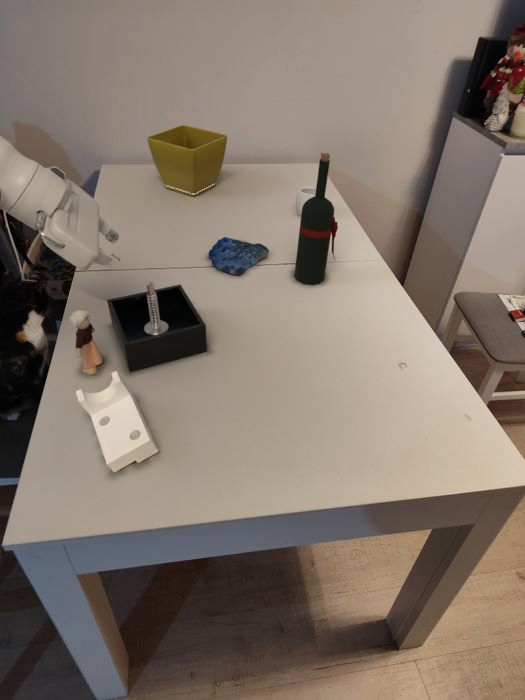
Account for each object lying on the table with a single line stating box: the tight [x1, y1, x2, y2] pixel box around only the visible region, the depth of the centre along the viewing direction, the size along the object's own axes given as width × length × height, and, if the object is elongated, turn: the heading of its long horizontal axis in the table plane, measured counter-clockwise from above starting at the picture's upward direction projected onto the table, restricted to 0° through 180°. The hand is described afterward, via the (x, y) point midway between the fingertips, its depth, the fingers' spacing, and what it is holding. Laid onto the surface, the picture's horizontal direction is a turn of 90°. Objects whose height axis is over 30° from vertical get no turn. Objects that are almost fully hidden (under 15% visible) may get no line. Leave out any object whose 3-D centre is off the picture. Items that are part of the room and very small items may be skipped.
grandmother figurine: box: [69, 309, 104, 376], centre depth 81 cm, size 8×4×13 cm, turn 8°
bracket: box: [75, 370, 159, 473], centre depth 71 cm, size 13×7×8 cm, turn 29°
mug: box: [295, 185, 316, 217], centre depth 141 cm, size 12×8×8 cm
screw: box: [144, 281, 168, 336], centre depth 88 cm, size 13×5×5 cm
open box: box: [106, 284, 208, 373], centre depth 90 cm, size 16×16×7 cm
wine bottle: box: [293, 152, 339, 286], centre depth 104 cm, size 8×10×30 cm
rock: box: [208, 236, 270, 276], centre depth 119 cm, size 15×17×2 cm
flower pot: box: [146, 124, 228, 198], centre depth 149 cm, size 19×19×17 cm
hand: (117, 251), depth 77 cm, fingers open, 8 cm apart
